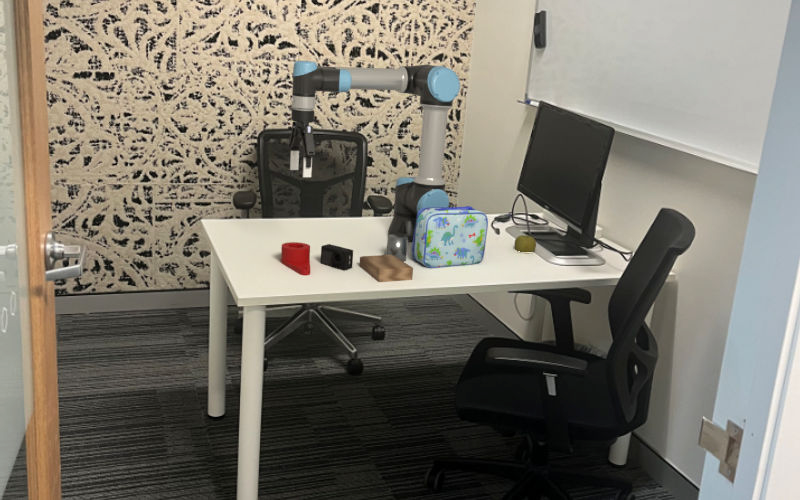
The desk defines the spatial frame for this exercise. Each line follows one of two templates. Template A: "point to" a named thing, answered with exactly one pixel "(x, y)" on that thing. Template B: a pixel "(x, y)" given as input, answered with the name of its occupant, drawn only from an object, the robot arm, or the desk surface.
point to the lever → (296, 257)
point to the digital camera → (336, 257)
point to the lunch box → (449, 236)
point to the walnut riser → (386, 268)
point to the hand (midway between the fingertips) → (300, 173)
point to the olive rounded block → (525, 243)
